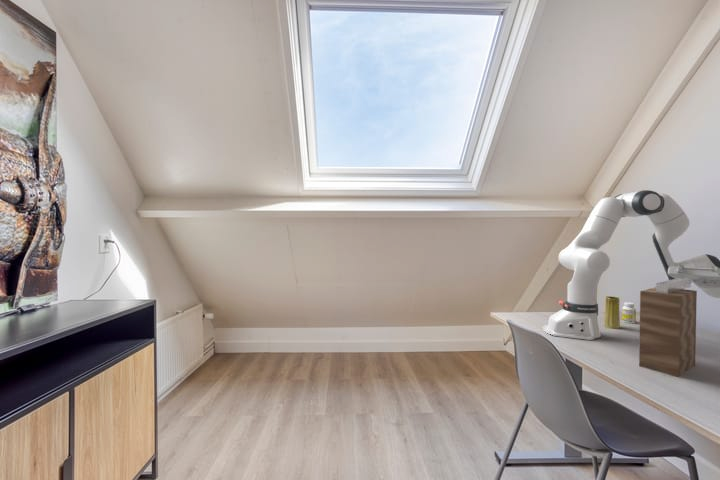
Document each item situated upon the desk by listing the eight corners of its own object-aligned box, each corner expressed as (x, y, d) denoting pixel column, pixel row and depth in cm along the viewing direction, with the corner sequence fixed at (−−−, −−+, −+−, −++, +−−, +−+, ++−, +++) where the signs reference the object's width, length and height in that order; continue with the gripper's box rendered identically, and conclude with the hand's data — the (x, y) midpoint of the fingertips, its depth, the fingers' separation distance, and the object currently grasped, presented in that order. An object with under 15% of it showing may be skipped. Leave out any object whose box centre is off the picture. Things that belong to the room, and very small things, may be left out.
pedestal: (678, 377, 104) (679, 296, 103) (639, 366, 112) (640, 291, 112) (695, 365, 112) (696, 290, 111) (657, 356, 121) (658, 286, 120)
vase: (623, 329, 153) (623, 299, 153) (608, 328, 154) (608, 298, 154) (615, 325, 159) (615, 296, 159) (601, 324, 160) (601, 296, 160)
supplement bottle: (627, 323, 162) (628, 304, 161) (619, 320, 167) (619, 302, 167) (638, 323, 162) (638, 304, 161) (629, 320, 167) (629, 301, 167)
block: (667, 293, 107) (667, 284, 107) (655, 292, 110) (655, 283, 110) (690, 286, 118) (690, 278, 118) (679, 285, 121) (679, 277, 121)
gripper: (675, 269, 142) (662, 258, 136) (746, 273, 124) (735, 261, 118) (673, 283, 141) (660, 273, 135) (744, 289, 123) (734, 277, 117)
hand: (696, 267), depth 126 cm, fingers open, 8 cm apart
